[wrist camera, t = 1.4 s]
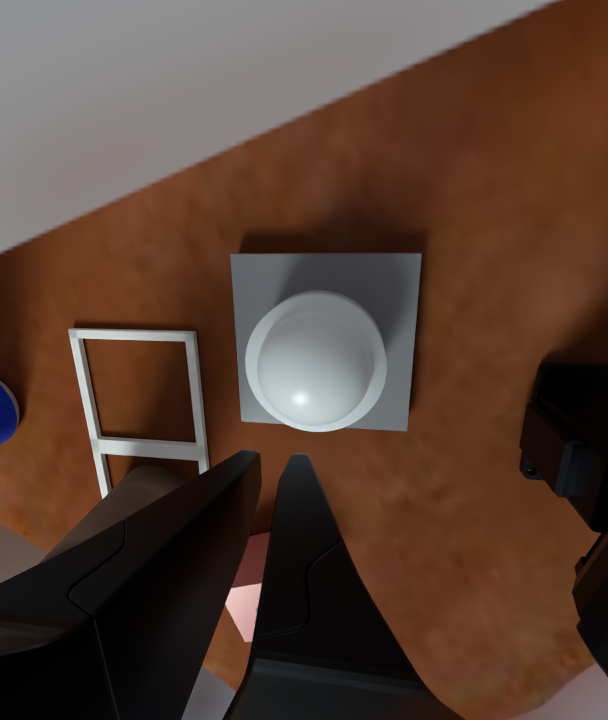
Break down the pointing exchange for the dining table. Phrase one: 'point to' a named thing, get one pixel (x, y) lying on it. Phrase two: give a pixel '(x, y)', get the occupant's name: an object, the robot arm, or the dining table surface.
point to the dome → (317, 361)
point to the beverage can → (7, 413)
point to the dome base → (347, 277)
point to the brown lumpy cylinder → (122, 502)
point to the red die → (248, 585)
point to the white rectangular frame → (130, 445)
